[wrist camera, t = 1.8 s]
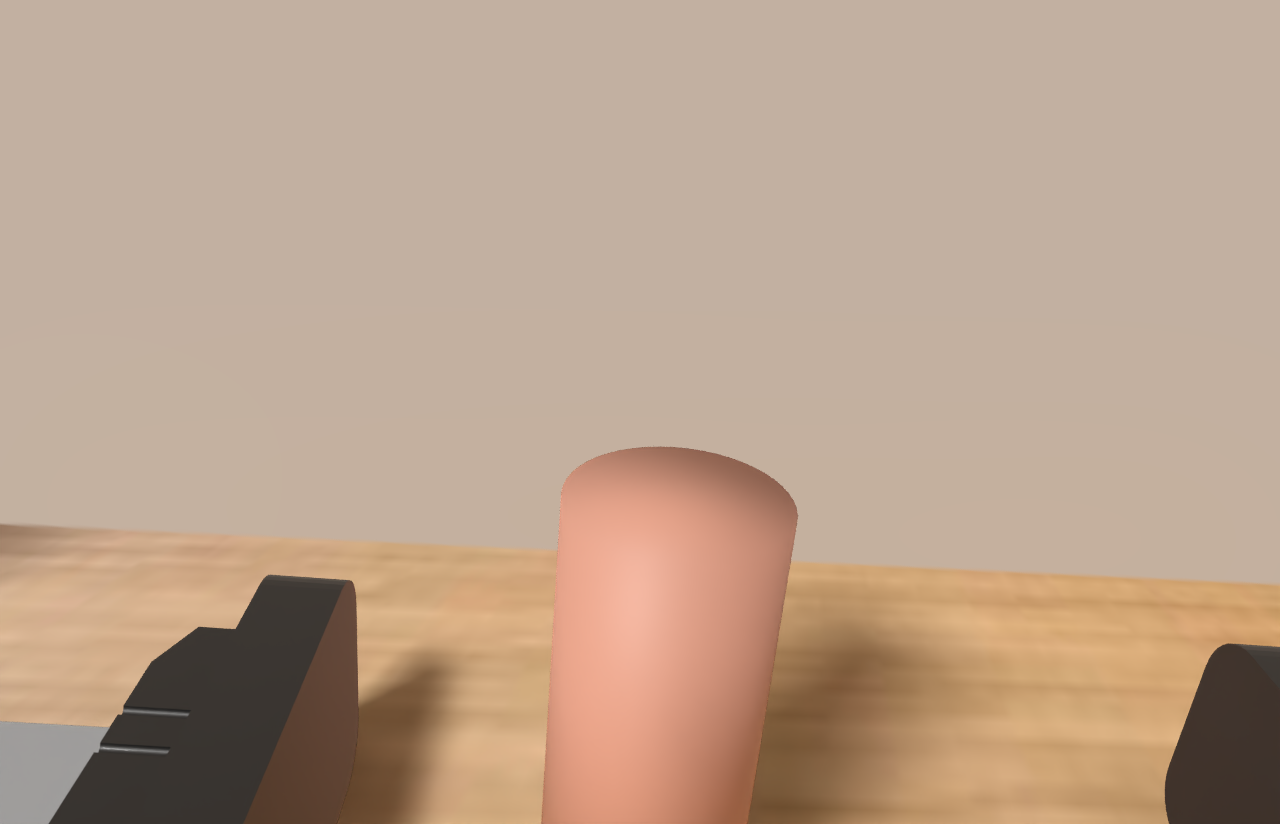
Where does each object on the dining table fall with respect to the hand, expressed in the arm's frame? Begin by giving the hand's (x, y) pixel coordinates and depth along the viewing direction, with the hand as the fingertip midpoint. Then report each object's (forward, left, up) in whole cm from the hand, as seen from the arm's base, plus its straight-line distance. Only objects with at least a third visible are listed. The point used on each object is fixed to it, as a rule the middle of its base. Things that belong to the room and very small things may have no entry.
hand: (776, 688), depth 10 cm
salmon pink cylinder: (0, -12, -17) cm, 21 cm away
